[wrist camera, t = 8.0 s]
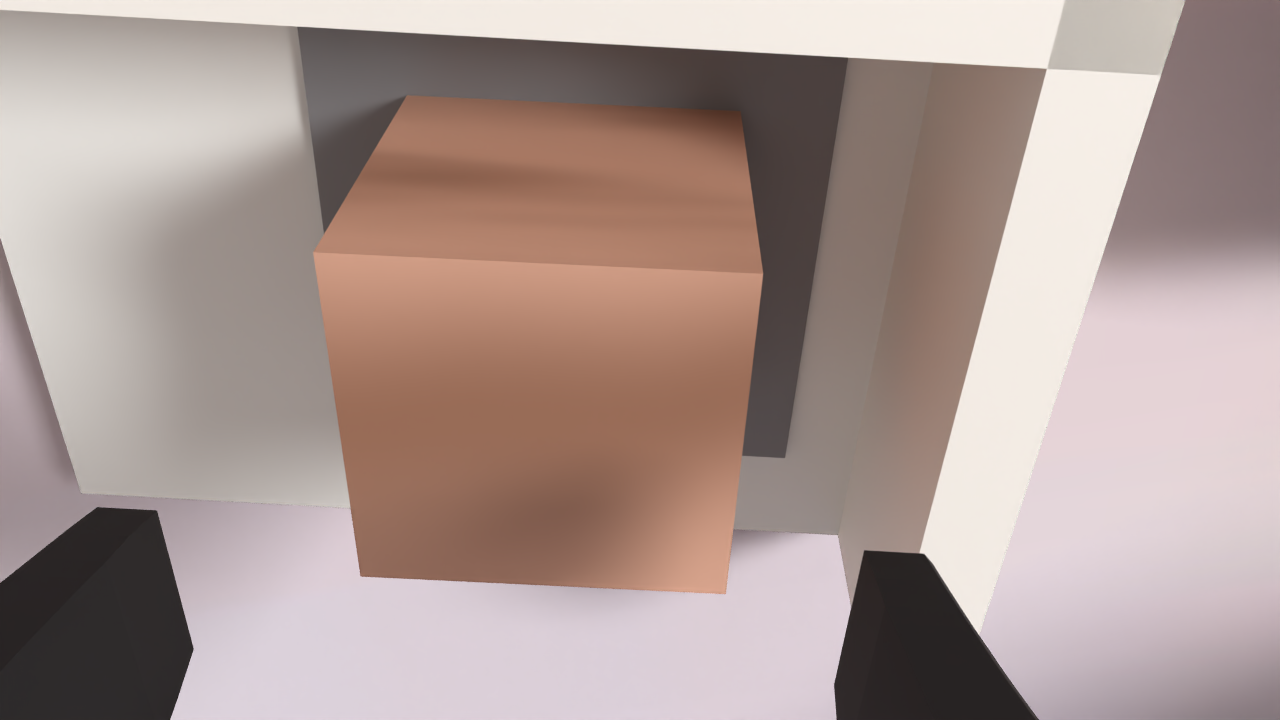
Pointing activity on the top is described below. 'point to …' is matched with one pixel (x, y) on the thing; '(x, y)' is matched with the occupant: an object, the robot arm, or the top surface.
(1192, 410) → the top surface
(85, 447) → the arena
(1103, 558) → the top surface
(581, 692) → the top surface
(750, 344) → the cube
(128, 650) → the robot arm
